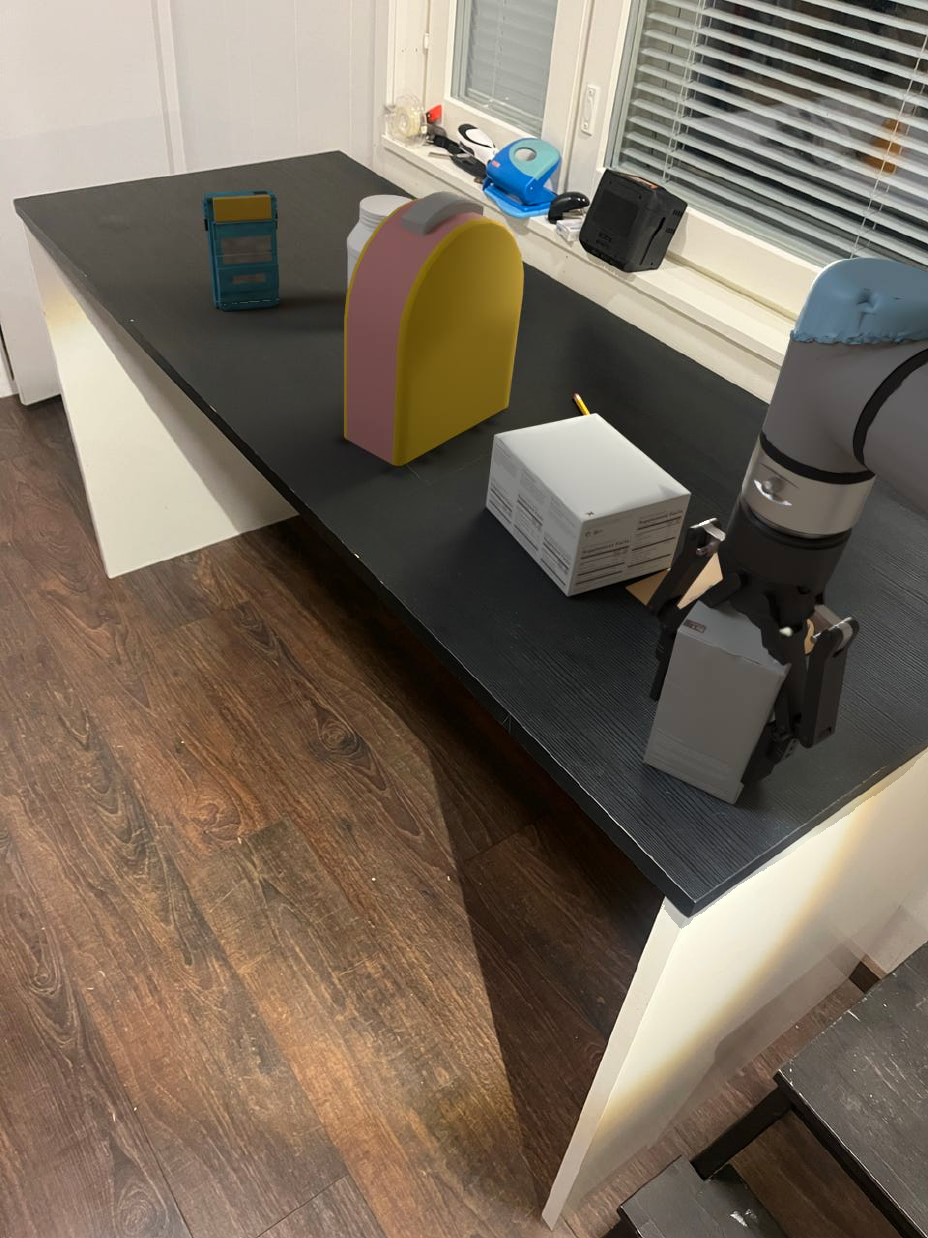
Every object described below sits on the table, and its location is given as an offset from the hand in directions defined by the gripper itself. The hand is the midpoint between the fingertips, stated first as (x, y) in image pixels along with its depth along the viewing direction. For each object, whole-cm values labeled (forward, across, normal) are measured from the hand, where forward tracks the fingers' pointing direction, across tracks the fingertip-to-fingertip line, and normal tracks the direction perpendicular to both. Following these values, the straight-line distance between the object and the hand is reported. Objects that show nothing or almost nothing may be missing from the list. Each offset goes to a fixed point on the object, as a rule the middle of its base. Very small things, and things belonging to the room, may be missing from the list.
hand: (707, 733), depth 77 cm
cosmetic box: (+4, 0, 0) cm, 4 cm away
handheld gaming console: (+4, -94, +4) cm, 94 cm away
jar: (+4, -84, +21) cm, 87 cm away
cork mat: (+4, -12, +18) cm, 22 cm away
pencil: (+4, -46, +28) cm, 54 cm away
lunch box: (+4, -56, +10) cm, 57 cm away
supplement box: (+4, -29, +11) cm, 31 cm away
